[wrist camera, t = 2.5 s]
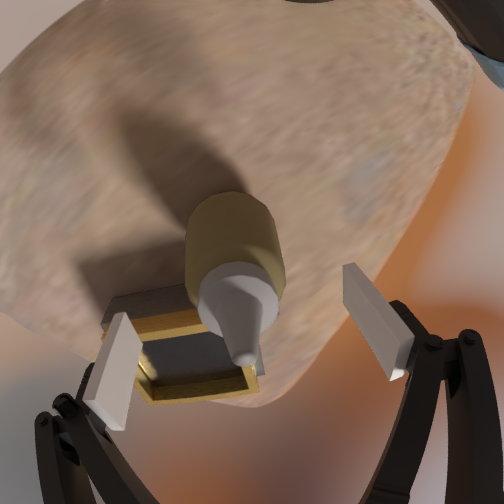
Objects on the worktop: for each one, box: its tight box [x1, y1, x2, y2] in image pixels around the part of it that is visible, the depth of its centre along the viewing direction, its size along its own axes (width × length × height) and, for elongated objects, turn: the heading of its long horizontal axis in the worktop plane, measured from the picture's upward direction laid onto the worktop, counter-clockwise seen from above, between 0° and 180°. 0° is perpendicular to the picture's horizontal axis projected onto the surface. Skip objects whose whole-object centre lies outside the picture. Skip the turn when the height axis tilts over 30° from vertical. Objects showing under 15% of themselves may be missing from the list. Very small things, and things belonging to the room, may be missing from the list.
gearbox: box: [100, 284, 279, 405], centre depth 30 cm, size 19×12×8 cm, turn 101°
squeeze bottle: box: [185, 191, 286, 367], centre depth 20 cm, size 8×8×18 cm
